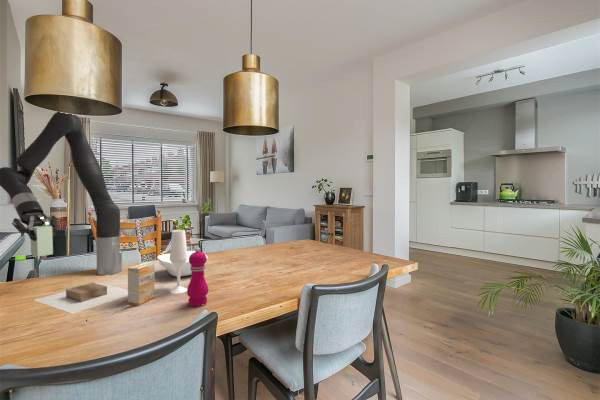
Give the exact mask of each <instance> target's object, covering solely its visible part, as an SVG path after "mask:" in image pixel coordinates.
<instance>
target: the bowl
mask: <svg viewBox="0 0 600 400" xmlns="http://www.w3.org/2000/svg"><path fill="white" fill-rule="evenodd" d="M194 252H196V251H195V250H189V251H188V250H187V256H188V258H187V260H186V262H185V263H184V264H183V265H182V266H180V277H185V276H192V271H191V270H190V269H191V268H190V266H191V264H190V263H189V257H190V255H191V254H192V253H194ZM204 254H205V255H206V257H207V260H208V259H209V257H208V255H207V254H206V253H204ZM169 258H170V252H169V253H164V254H159V255H157V261H158V262H159V264H160V265H161V267H163V268H166V270H167V272H168V273H169V275H171V276H173V277H176V278H177V266H175V265H174V264H172V263H171V261H170V259H169Z"/></svg>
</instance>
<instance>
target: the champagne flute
mask: <svg viewBox="0 0 600 400" xmlns="http://www.w3.org/2000/svg"><path fill="white" fill-rule="evenodd" d="M170 239H171V240H170V249H169V253H170V258H169V259H170V261H171V263H172V264H174V265H175V266H177V277H176V286H175V287H173V288H172V289H170V290H169V293H170V294H172V295H175V294H176V295H177V294H184V293H187V289H188V288H186V287H184V286H181V276H180V266H182V265H183V264H184V263H185V262H186V260H187V258H188V256H187V251H188V248H187V237H186V230H185V229H173V230H172V231H171V238H170Z"/></svg>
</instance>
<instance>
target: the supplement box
mask: <svg viewBox="0 0 600 400" xmlns="http://www.w3.org/2000/svg"><path fill="white" fill-rule="evenodd" d="M127 290H128V296H127V302H128V303H129V305H132V306H141V305H143V304H144V303H146V302H147V301H149V300H152V299H154V298H155V263H154V262H141V263H139V264H136V265H133V266H130V267H128V268H127Z"/></svg>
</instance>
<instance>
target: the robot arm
mask: <svg viewBox="0 0 600 400" xmlns="http://www.w3.org/2000/svg"><path fill="white" fill-rule="evenodd" d="M82 123H83V122H82V120H81V119H80V117H79V116H78V115H77V114H75V115H72V114H65V113H60V112H59V111H56V112H55V113H54V114H53V115H52V117H51V118H50V119H49V121H48V122H47V123H46V126H45V127H44V128H43V129H42V131H41V133H39V135H37V137H36V138H35V139H34V141H32V143H30V144H29V146H28V147H26V148H25V150H24V151H23V152H22V153H20V154H19V156H18V157H17V158H16V160H15V163H16V164H17V166H18V167H20V170H18V169H15V168H11V167H8V166H6V167H5V166H2V167H0V187H1V188H2V189H3V190H4V191H5V192H6V193H7V194H8V196H9V198H10V199H11V200H10V201H12V205H13V208H14V209H15V211H16V213H17V215H18V217H19V218H13V220H12V221H11V222H12V223H11V225H12V226H14V228H15V229H16V230H17V231H18V232H19V233H20V234H27V235H28V238H29V239H30V241H31V240H33V241H36V239H37V236H36V234H35V232H34V230H33V227H38V226H51V227H52V239H54V237H55V236H56V233H55V229H56V228H57V226H58V225H57V219H56V216H55V215H51V216H47V214H45V212H44V210H43V208H42V206H41V204H40V202H39V201H38V199H37V197H36V196H35V195H34V193H33V191H32V189H31V188H30V186H29V185H28V184H29V182H30V181H31V178H32V177H33V174H34V173H35V170H36V169H37V168H38V167H39V166H40V165H41V163H42V162H43V161H44V160H45V159H46V158H47V156H48V155H49V154H50V153H51V151H52V149H53V148H54V146H55V145H56V144H57V143H58V142H59V141H60V139H62V138H63V137H65V139H66V141H67V143H68V145H69V149H70V154H71V160H72V165H73V167H74V170H75V172H76V174H77V175H78V176H77V177H78V178H79V180H80V183H82V185H83V187H84V188H85V190H86V192H87V193H88V195H89V197H90V199H91V202H92V206H93V209H94V212H95V216H96V217H95V218H96V232H95V241H96V242H95V244H96V247H95V248H96V274H97V275H99V276H109V275H114V274H118V273H119V272H122V270H123V269H122V268H123V266H122V264H123V262H122V261H123V258H122V256H123V255H122V251H121V249H120V243H121V242H120V230H121V210H120V208H119V206H118V205H117V204H115V202H114V201H113V199H112V198H111V195H110V193H109V191H108V189H107V186H106V180H105V177H104V173H103V171H102V168H101V166H100V164H99V161H98V160H97V157H96V156H95V153H94V151H93V149H92V148H91V146H90V144H89V141H88V139H87V136H86V134H85V129H84V126H83V124H82ZM25 225H26V226H25Z"/></svg>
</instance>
